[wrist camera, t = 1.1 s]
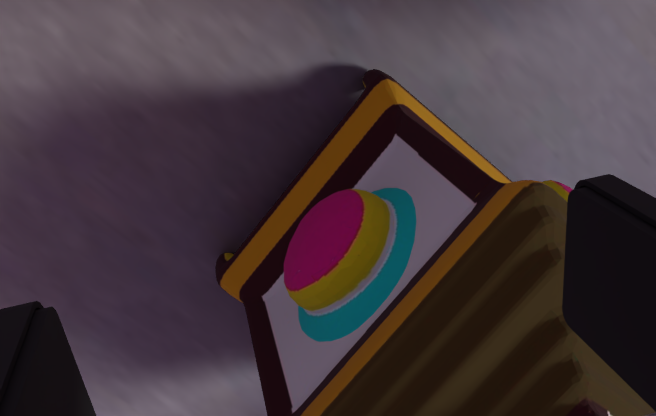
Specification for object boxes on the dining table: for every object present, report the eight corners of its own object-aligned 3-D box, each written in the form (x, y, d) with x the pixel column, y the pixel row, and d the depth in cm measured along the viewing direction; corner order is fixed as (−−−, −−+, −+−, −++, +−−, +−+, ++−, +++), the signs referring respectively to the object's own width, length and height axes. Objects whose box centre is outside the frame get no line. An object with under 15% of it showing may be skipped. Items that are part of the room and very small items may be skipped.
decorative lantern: (183, 264, 42) (209, 816, 16) (365, 33, 39) (791, 240, 12) (386, 378, 51) (626, 864, 24) (550, 197, 47) (1040, 530, 21)
